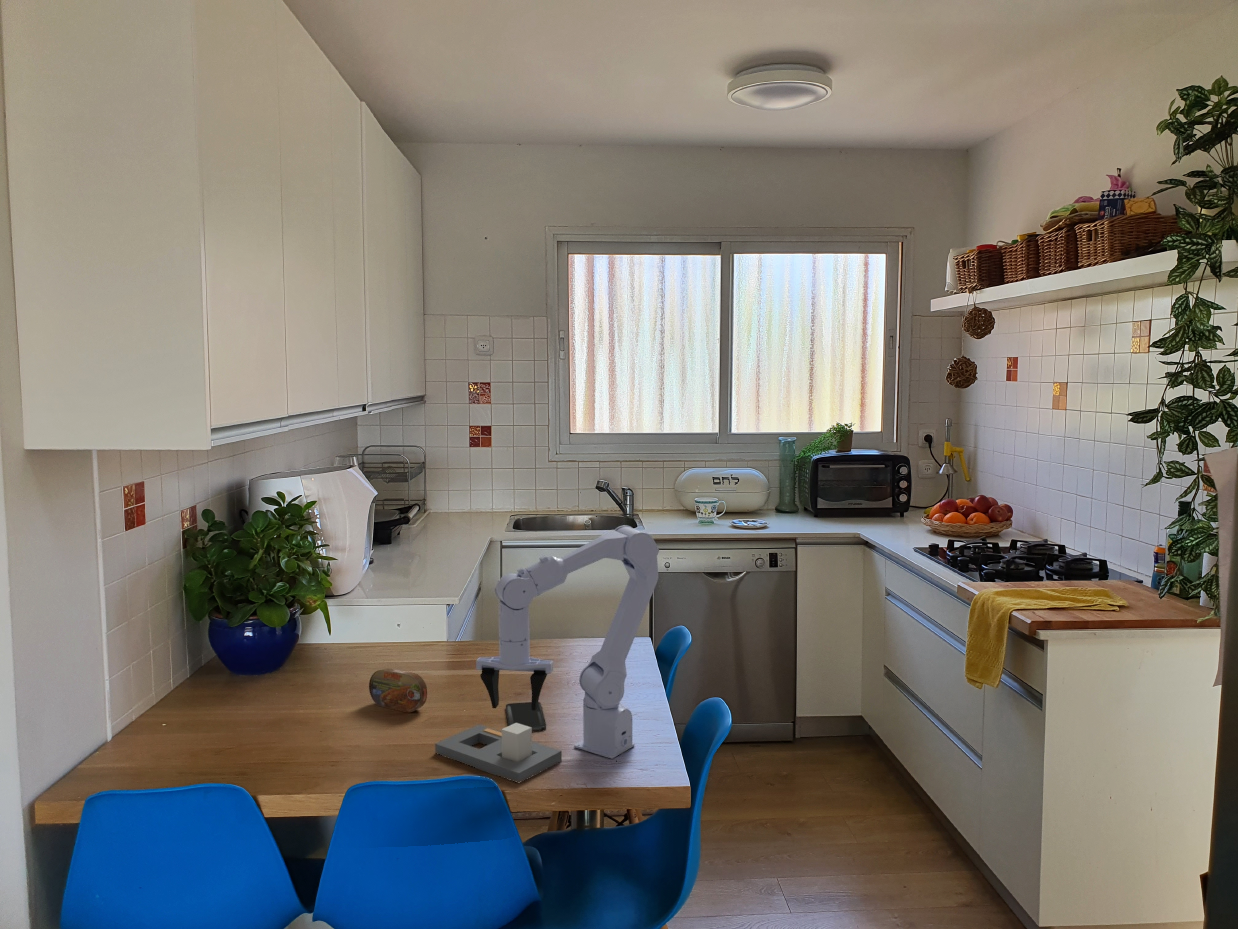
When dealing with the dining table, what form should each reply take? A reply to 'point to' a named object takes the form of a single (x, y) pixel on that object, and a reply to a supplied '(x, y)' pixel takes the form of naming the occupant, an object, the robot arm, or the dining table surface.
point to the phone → (526, 715)
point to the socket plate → (495, 754)
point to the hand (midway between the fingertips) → (515, 707)
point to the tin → (398, 690)
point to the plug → (517, 742)
